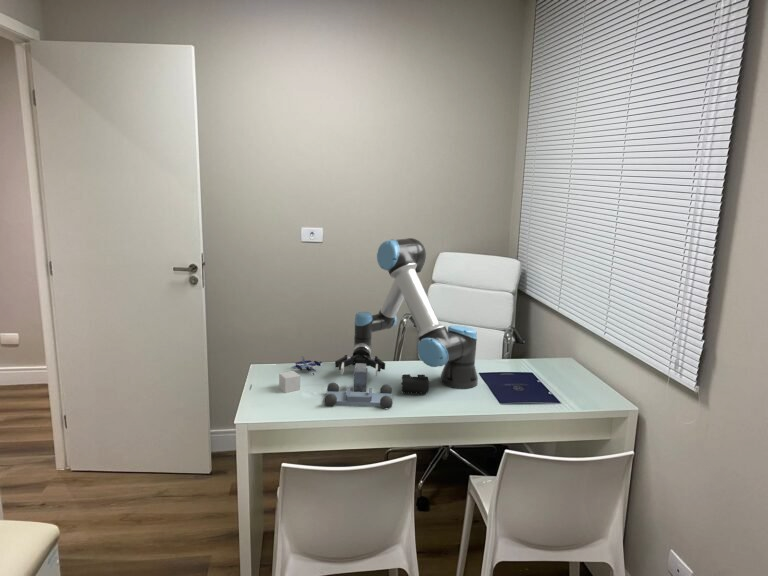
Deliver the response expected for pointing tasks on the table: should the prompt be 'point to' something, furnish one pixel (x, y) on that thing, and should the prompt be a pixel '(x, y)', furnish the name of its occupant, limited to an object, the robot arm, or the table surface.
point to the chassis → (358, 397)
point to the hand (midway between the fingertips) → (359, 372)
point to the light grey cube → (289, 381)
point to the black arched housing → (415, 384)
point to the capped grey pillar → (360, 378)
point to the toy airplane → (307, 365)
